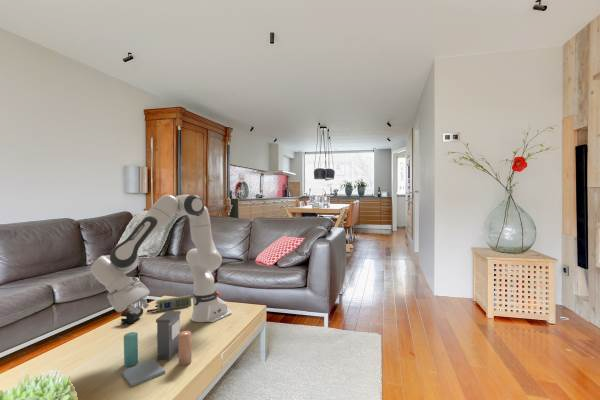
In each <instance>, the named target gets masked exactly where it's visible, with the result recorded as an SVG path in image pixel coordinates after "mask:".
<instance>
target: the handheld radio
mask: <svg viewBox="0 0 600 400" xmlns="http://www.w3.org/2000/svg"><path fill="white" fill-rule="evenodd" d="M154 307H155V308H153V309H147V311H146V313H151V312H152V313H153V312H158V313H159V312H164V311H165V312H166V311H171V310H175V309H176V310H177V309H181V308H186V307H192V295H191V294H188V295H183V296H176V297H168V298H164V299H157V300H156V301H155V306H154Z"/></svg>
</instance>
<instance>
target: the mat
mask: <svg viewBox="0 0 600 400" xmlns="http://www.w3.org/2000/svg"><path fill="white" fill-rule="evenodd" d="M120 372H121V373H120V374H121V375H122V377H123V378H124V379H125V380H126V381H127V383H128V385H130V387H134V386H136V385H139V384H142V383H144V382H147V381H149V380H151V379H154V378H156V377H158V376H161V375H163V374H165V373H166V370H165V369H164V368H163V367H162V366H161V365H160V364H159V363H158V362H157V361H156V360H155V359H151V360H148V361H145V362H143V363H138V364H136V365H135V366H132V367H127V368H126V369H123V370H121V371H120Z"/></svg>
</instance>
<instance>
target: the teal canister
mask: <svg viewBox="0 0 600 400" xmlns="http://www.w3.org/2000/svg"><path fill="white" fill-rule="evenodd" d="M138 339H139V338H138V332H136V331H132V332H128V333H125V334H124V335H123V366H124V367H125V368H131V367H134V366H137V365H139V348H138V347H139V340H138Z"/></svg>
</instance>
